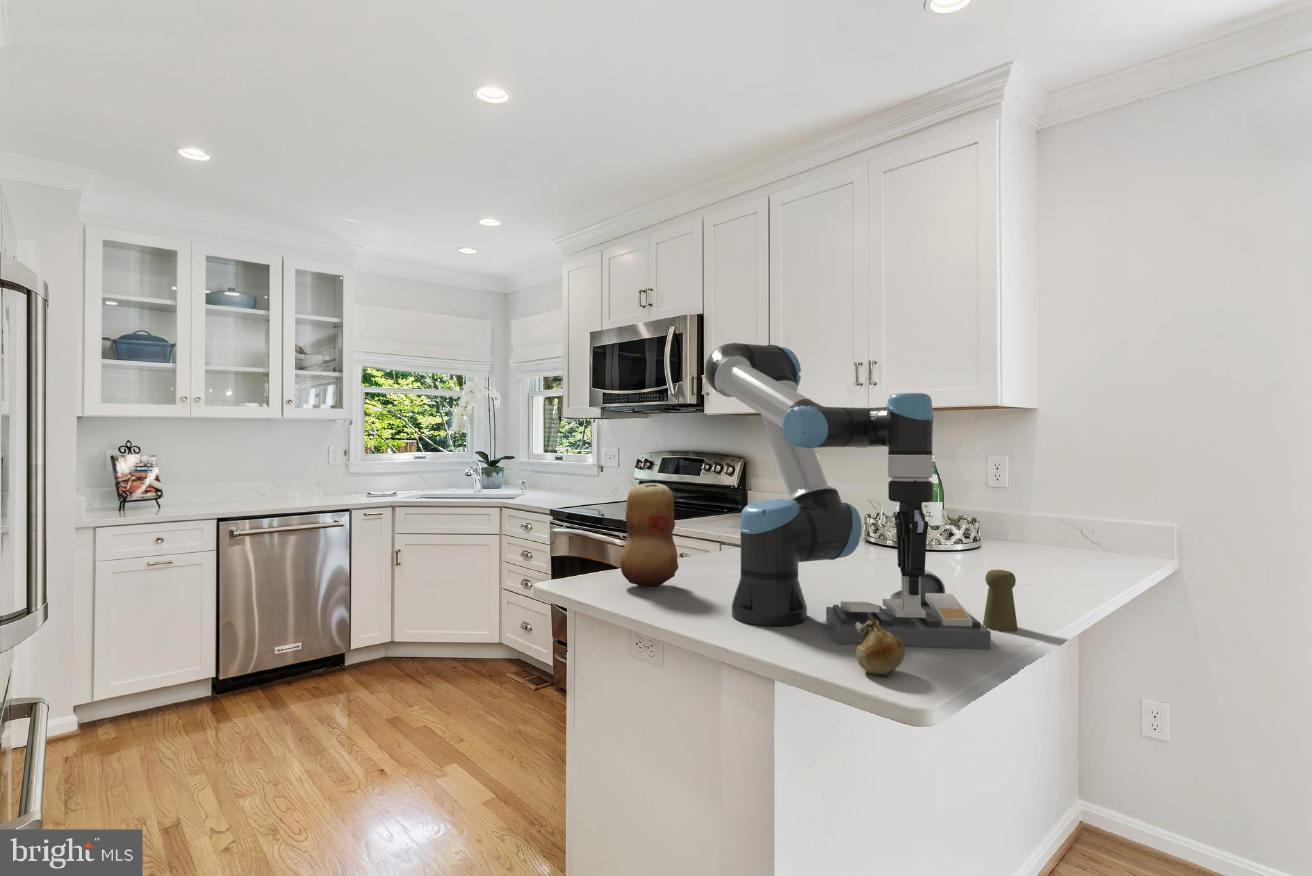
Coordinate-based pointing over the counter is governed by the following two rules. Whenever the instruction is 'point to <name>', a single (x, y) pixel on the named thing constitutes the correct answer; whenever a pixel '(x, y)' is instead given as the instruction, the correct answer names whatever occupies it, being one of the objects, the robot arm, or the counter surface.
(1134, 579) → the counter surface
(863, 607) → the left rocker
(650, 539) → the butternut squash
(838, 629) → the rocker switch panel
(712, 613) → the counter surface
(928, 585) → the ceramic mug
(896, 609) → the block
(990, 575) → the cork
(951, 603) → the right rocker
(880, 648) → the onion
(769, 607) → the robot arm
